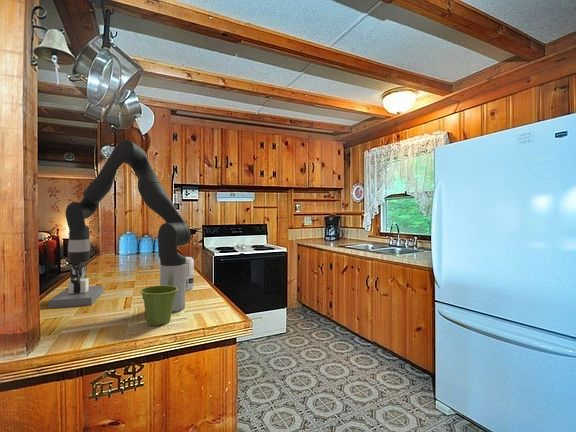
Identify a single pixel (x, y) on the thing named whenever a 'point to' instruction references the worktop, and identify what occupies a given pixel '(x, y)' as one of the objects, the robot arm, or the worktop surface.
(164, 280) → the robot arm
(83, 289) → the plug
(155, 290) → the plant pot
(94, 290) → the socket plate
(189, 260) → the supplement can
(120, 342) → the worktop surface
